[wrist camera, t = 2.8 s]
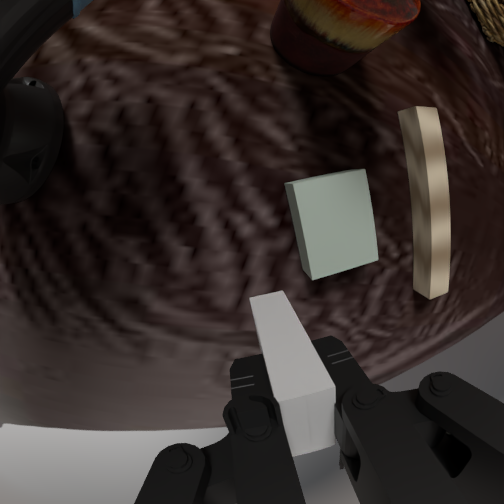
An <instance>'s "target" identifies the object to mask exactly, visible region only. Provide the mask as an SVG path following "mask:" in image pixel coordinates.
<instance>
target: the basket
mask: <svg viewBox="0 0 504 504" xmlns="http://www.w3.org/2000/svg"><path fill="white" fill-rule="evenodd" d="M467 1H468V2H470V3H471V4H470V7H471V10H472V11H473V12H474V13H476V15H477V17H478V21H479V22H480V24H481V26H483V27H482V29H483V33H485V35H487V38H486V39H487V40H489V41H490V42H496V43H497V44H500V45H501V46H504V0H467Z"/></svg>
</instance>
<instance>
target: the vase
mask: <svg viewBox="0 0 504 504" xmlns="http://www.w3.org/2000/svg"><path fill="white" fill-rule="evenodd" d="M420 9H421V1H420V0H280V3H279V6H278V8H277V11H276V13H275V16H274V19H273V22H272V25H271V30H270V34H271V40H272V43H273V46H274V48H275V50H276V51H277V52H278V54H279V55H280V56H281V57H282V58H283V59H284V60H285V61H286V62H287V63H289V64H290V65H291V66H293V67H294V68H296V69H298V70H300V71H302V72H305V73H308V74H312V75H316V76H332V75H337V74H339V73H342V72H344V71H345V70H347V69H348V68H350V67H351V66H352V65H354V64H355V63H356V62H358V61H359V60H360V59H361V58H363V57H364V56H366V55H367V54H368V53H370V52H371V51H372V50H374V49H375V48H376V47H378V46H379V45H381V44H382V43H383V42H385V41H386V40H388V39H389V38H390V37H392V36H393V35H395V34H396V33H398V32H399V31H400V30H402V29H403V28H405V27H406V26H408V25H409V24H410V23H412V22H413V21H414V20H415V19H416V18H417V17H418V15H419V13H420Z"/></svg>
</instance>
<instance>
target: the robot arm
mask: <svg viewBox="0 0 504 504" xmlns="http://www.w3.org/2000/svg"><path fill="white" fill-rule="evenodd" d="M92 1H93V0H0V204H11V203H16V202H21V201H23V200H25V199H27V198H29V197H30V196H32V195H33V194H34V193H35V192H36V191H37V190H38V189H39V188H40V187H41V186H42V185H43V183H44V182H45V181H46V179H47V178H48V176H49V174H50V172H51V171H52V169H53V166H54V164H55V162H56V159H57V156H58V153H59V150H60V146H61V142H62V137H63V127H64V116H63V108H62V104H61V101H60V98H59V96H58V94H57V93H56V91H55V90H54V89H53V88H52V87H51V86H50V85H48V84H47V83H45V82H43V81H40V80H38V79H36V78H31V77H21V78H13V77H14V75H15V74H16V73H17V72H18V71H19V69H20V68H21V67H22V66H23V65H24V64H25V62H26V61H27V60H28V59H29V58H30V57H31V56H32V55H33V54H34V53H35V52H36V51H37V49H38V48H39V47H40V46H41V45H42V44H43V43H44V42H45V41H47V40H48V39H49V38H50V37H51V36H52V35H53V34H54V33H55V32H56V31H57V30H58V29H59V28H61V27H62V26H63V25H64V24H65V23H66V22H67V21H69V20H70V19H71V18H73V19H74V18H76V17H77V16H78V15H79V13H80V11H81V10H82V9H83V8H84V7H86V6H87V5H88V4H89V3H90V2H92ZM250 303H251V308H252V312H253V317H254V322H255V326H256V331H257V336H258V340H259V345H260V349H261V354H259V355H254V356H250V357H245V358H240V359H235V360H234V362H233V364H232V366H231V368H230V379H231V394H232V400H231V401H229V403H228V404H227V405H226V406H225V408H224V411H223V415H222V416H223V418H224V421H225V423H226V425H227V428H228V430H229V433H228V435H227V436H226V437H224V438H223V439H222V440H220V441H218V442H217V443H215V444H212V445H209V446H206V447H204V448H201V449H199V448H198V447H196V446H195V445H191V444H187V443H177V444H174V445H171V446H168V447H166V448H165V449H163V450H162V451H161V452H160V453H159V454H158V455H157V457H156V458H155V460H154V462H153V464H152V466H151V469H150V471H149V473H148V475H147V477H146V479H145V481H144V484H143V486H142V488H141V490H140V492H139V494H138V497H137V499H136V501H135V503H134V504H306V503H305V499H304V496H303V493H302V489H301V486H300V482H299V478H298V475H297V471H296V468H295V464H294V461H293V457H294V456H298V455H302V454H306V453H310V452H313V451H317V450H320V449H324V448H327V447H330V446H334V445H335V441H336V439H337V441H338V443H339V445H340V462H339V465H340V469H343V468H344V467H345V469H346V471H347V474H348V476H349V479H350V481H351V483H352V486H353V488H354V490H355V493H356V495H357V497H358V500H359V502H360V504H504V404H503V403H502V402H500V401H499V400H497V399H495V398H493V397H492V396H490V395H488V394H487V393H485V392H483V391H481V390H480V389H478V388H476V387H474V386H473V385H471V384H469V383H468V382H466V381H464V380H462V379H461V378H459V377H457V376H456V375H453V374H451V373H448V372H435V373H431V374H429V375H427V376H426V377H424V378H423V380H422V381H421V382H420V385H419V388H418V389H413V390H407V391H401V392H389V391H388V390H386V389H385V388H384V387H382V386H380V385H377V384H372V383H371V381H370V380H369V378H368V377H367V376H366V374H365V373H364V371H363V370H362V369H361V367H360V366H359V365H358V363H357V362H356V360H355V359H354V358H353V357H352V355H351V353H350V352H349V351H348V349H347V348H346V346H345V345H344V344H343V342H342V341H340V340H339V339H337V338H335V337H333V336H328V337H324V338H320V339H317V340H313V341H310V339H309V337H308V335H307V334H306V332H305V330H304V328H303V326H302V324H301V323H300V321H299V319H298V317H297V315H296V314H295V312H294V310H293V308H292V306H291V305H290V303H289V301H288V299H287V297H286V296H285V294H284V292H283V291H279V292H274V293H270V294H265V295H260V296H256V297H251V298H250Z"/></svg>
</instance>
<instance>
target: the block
mask: <svg viewBox="0 0 504 504" xmlns="http://www.w3.org/2000/svg"><path fill="white" fill-rule="evenodd" d="M284 184H285V188H286V193H287V197H288V201H289V206H290V210H291V215H292V220H293V224H294V229H295V234H296V239H297V243H298V248H299V253H300V258H301V263H302V268H303V270H304V272H305V273H306V274H307V275H308V276H309V277H310V278H311V279H312V280H315V279H319V278H322V277H325V276H329V275H332V274H335V273H338V272H342V271H345V270H348V269H351V268H355V267H358V266H361V265H364V264H367V263H370V262H373V261H377V260H378V251H377V241H376V233H375V225H374V218H373V211H372V205H371V198H370V192H369V187H368V181H367V176H366V171H365V169H354V170H346V171H341V172H336V173H330V174H326V175H321V176H316V177H311V178H306V179H302V180H297V181H293V182H288V183H284Z"/></svg>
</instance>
